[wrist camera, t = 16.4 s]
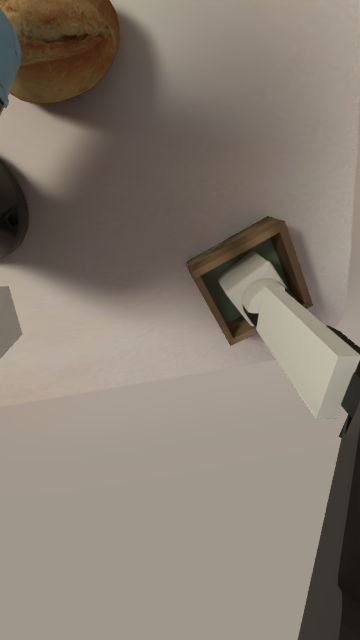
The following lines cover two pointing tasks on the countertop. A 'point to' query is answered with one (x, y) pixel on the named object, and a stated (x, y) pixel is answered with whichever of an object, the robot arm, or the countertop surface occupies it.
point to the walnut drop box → (206, 267)
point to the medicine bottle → (249, 284)
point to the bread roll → (61, 46)
